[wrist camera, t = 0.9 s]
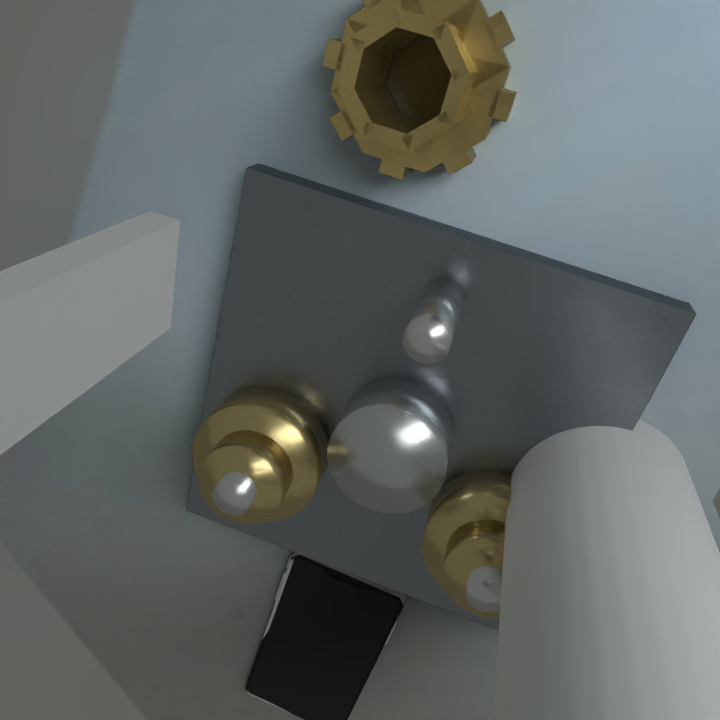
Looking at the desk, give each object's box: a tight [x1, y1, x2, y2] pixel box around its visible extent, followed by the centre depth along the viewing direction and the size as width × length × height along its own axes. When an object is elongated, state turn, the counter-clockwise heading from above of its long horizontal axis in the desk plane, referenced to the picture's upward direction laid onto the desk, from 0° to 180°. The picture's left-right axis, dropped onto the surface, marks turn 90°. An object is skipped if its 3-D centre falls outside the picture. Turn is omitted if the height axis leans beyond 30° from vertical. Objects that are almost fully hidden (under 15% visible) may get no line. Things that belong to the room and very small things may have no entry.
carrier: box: [186, 164, 696, 630], centre depth 34 cm, size 22×22×7 cm
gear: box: [322, 0, 517, 180], centre depth 27 cm, size 8×8×6 cm
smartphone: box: [245, 552, 406, 720], centre depth 46 cm, size 8×1×15 cm
